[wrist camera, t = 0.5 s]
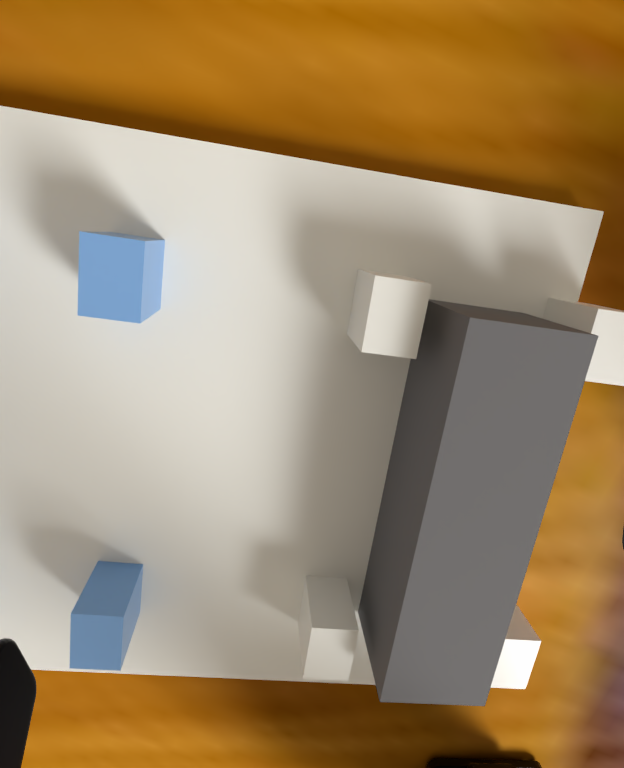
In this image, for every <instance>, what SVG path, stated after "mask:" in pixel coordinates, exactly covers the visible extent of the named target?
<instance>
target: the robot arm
mask: <svg viewBox="0 0 624 768" xmlns="http://www.w3.org/2000/svg"><path fill="white" fill-rule="evenodd" d="M622 543H623V549H624V528H623V540H622ZM35 697H36V681H35V677H34V674H33V673H32V671H31V669H30V667H29V665H28V664H27V662H26V660H25V658H24V656H23V655H22V653H21V651H20V649H19V647H18V646H17V644H16V642H15V641H13V640H12V639H10V638H3V639H0V768H21V764H22V760H23V755H24V750H25V745H26V740H27V736H28V731H29V726H30V721H31V716H32V712H33V707H34V702H35ZM426 768H542V767H541V765H540V763H539V762H537V761H523V760H486V759H448V758H436V759H432V760H430V761H429V762H428V764H427V766H426Z"/></svg>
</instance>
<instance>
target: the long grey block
mask: <svg viewBox="0 0 624 768" xmlns="http://www.w3.org/2000/svg"><path fill="white" fill-rule="evenodd" d="M597 339H598V335H595V334H591V333H588V332H585V331H582V330H578V329H575V328H572V327H568V326H565V325H562V324H559V323H555V322H552V321H549V320H545V319H542V318H539V317H536V316H532V315H529V314H526V313H521V312H514V311H507V310H500V309H493V308H486V307H479V306H472V305H465V304H459V303H452V302H445V301H438V300H431V299H429V301H428V305H427V310H426V315H425V320H424V324H423V329H422V334H421V339H420V343H419V348H418V353H417V357H416V359H410V364H409V369H408V374H407V379H406V384H405V388H404V393H403V398H402V403H401V408H400V412H399V417H398V422H397V427H396V432H395V437H394V441H393V446H392V451H391V456H390V461H389V465H388V470H387V475H386V480H385V485H384V490H383V494H382V499H381V504H380V509H379V514H378V518H377V523H376V528H375V533H374V538H373V543H372V547H371V552H370V557H369V562H368V567H367V571H366V576H365V581H364V586H363V591H362V596H361V600H360V605H359V610H358V614H359V618H360V622H361V627H362V631H363V635H364V639H365V643H366V647H367V651H368V655H369V659H370V664H371V668H372V672H373V676H374V680H375V684H376V688H377V692H378V697H379V701H380V702H395V703H420V704H444V705H469V706H485V703H486V700H487V697H488V694H489V690H490V687H491V684H492V681H493V677H494V674H495V671H496V668H497V664H498V661H499V658H500V655H501V651H502V648H503V645H504V642H505V638H506V635H507V632H508V629H509V625H510V622H511V619H512V616H513V612H514V609H515V606H516V603H517V599H518V596H519V593H520V590H521V586H522V583H523V580H524V577H525V573H526V570H527V567H528V564H529V560H530V557H531V554H532V551H533V547H534V544H535V541H536V538H537V534H538V531H539V528H540V525H541V521H542V518H543V515H544V512H545V508H546V505H547V502H548V499H549V495H550V492H551V489H552V486H553V482H554V479H555V476H556V473H557V469H558V466H559V463H560V460H561V456H562V453H563V450H564V447H565V443H566V440H567V437H568V434H569V430H570V427H571V424H572V421H573V417H574V414H575V411H576V408H577V404H578V401H579V398H580V395H581V391H582V388H583V385H584V382H585V378H586V375H587V372H588V369H589V365H590V362H591V359H592V356H593V352H594V349H595V346H596V343H597Z"/></svg>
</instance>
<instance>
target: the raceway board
mask: <svg viewBox="0 0 624 768" xmlns="http://www.w3.org/2000/svg"><path fill="white" fill-rule="evenodd" d="M603 213H604V211H598V210H592V209H587V208H581V207H575V206H570V205H564V204H558V203H553V202H547V201H541V200H535V199H530V198H524V197H518V196H513V195H507V194H501V193H496V192H490V191H484V190H478V189H473V188H467V187H461V186H456V185H450V184H444V183H439V182H433V181H427V180H422V179H416V178H410V177H404V176H399V175H393V174H387V173H382V172H376V171H370V170H365V169H359V168H353V167H347V166H342V165H336V164H330V163H325V162H319V161H313V160H308V159H302V158H296V157H290V156H285V155H279V154H273V153H268V152H262V151H256V150H251V149H245V148H239V147H234V146H228V145H222V144H216V143H211V142H205V141H199V140H194V139H188V138H182V137H177V136H171V135H165V134H159V133H154V132H148V131H142V130H137V129H131V128H125V127H120V126H114V125H108V124H102V123H97V122H91V121H85V120H80V119H74V118H68V117H63V116H57V115H51V114H45V113H40V112H34V111H28V110H23V109H17V108H11V107H6V106H0V639H3V638H10V639H12V640H13V641H15V642H16V644H17V646H18V647H19V649H20V651H21V653H22V655H23V656H24V658H25V660H26V662H27V664H28V665H29V667H30V669H32V670H54V671H76V672H99V673H121V674H143V675H166V676H188V677H210V678H233V679H255V680H278V681H300V682H322V683H345V684H367V685H376V684H375V680H374V676H373V672H372V668H371V664H370V659H369V655H368V651H367V647H366V643H365V639H364V635H363V631H362V627H361V622H360V618H359V614H358V610H359V605H360V600H361V596H362V591H363V586H364V581H365V576H366V571H367V567H368V562H369V557H370V552H371V547H372V543H373V538H374V533H375V528H376V523H377V518H378V514H379V509H380V504H381V499H382V494H383V490H384V485H385V480H386V475H387V470H388V465H389V461H390V456H391V451H392V446H393V441H394V437H395V432H396V427H397V422H398V417H399V412H400V408H401V403H402V398H403V393H404V388H405V384H406V379H407V374H408V369H409V364H410V359H416V357H417V353H418V348H419V343H420V339H421V334H422V329H423V324H424V320H425V315H426V310H427V305H428V301H429V299H431V300H438V301H445V302H452V303H459V304H465V305H472V306H479V307H486V308H493V309H500V310H507V311H514V312H521V313H526V314H529V315H532V316H536V317H539V318H542V319H545V320H549V321H552V322H555V323H559V324H562V325H565V326H568V327H572V328H575V329H578V330H582V331H585V332H588V333H591V334H595V335H598V339H597V343H596V346H595V349H594V352H593V356H592V359H591V362H590V365H589V369H588V372H587V375H586V378H585V381H589V382H597V383H605V384H612V385H620V386H624V311H622V310H618V309H613V308H608V307H604V306H599V305H594V304H588V303H582V302H578V299H579V296H580V292H581V289H582V286H583V282H584V279H585V275H586V272H587V268H588V265H589V261H590V258H591V255H592V251H593V248H594V244H595V241H596V237H597V234H598V231H599V227H600V224H601V220H602V217H603ZM540 643H541V640H540V639H539V637H538V636H537V634H536V633H535V631H534V630H533V628H532V627H531V625H530V624H529V622H528V621H527V619H526V618H525V616H524V615H523V613H522V612H521V610H520V609H519V607H518V606H517V605H516V606H515V609H514V612H513V616H512V619H511V622H510V625H509V629H508V632H507V635H506V638H505V642H504V645H503V648H502V651H501V655H500V658H499V661H498V664H497V668H496V671H495V674H494V677H493V681H492V684H491V688H513V689H526V686H527V683H528V680H529V677H530V674H531V671H532V668H533V665H534V662H535V659H536V656H537V653H538V650H539V647H540Z"/></svg>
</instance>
